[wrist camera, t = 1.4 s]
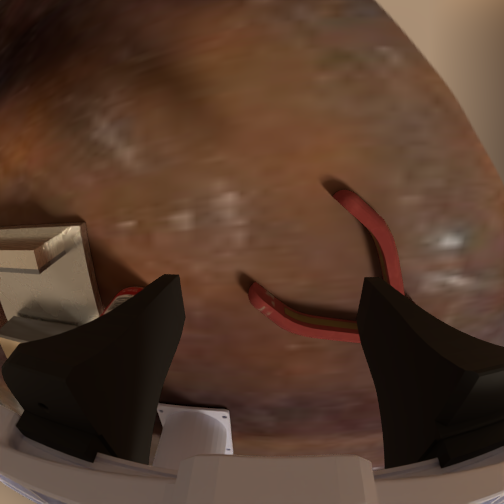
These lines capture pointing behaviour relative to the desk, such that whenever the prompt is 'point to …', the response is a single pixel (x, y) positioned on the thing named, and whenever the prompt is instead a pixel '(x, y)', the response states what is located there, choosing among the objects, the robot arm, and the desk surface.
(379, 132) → the desk surface
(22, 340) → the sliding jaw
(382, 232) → the pliers
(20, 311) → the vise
